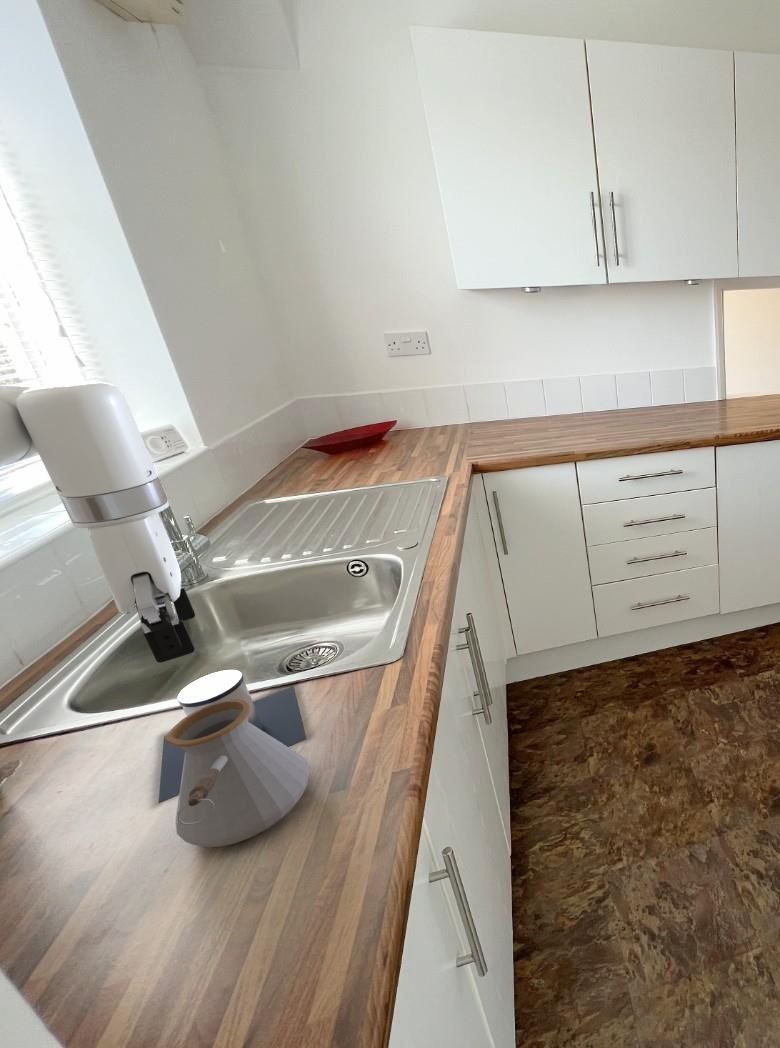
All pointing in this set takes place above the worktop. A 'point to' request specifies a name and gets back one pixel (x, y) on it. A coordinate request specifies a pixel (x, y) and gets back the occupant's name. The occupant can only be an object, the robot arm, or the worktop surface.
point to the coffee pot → (232, 776)
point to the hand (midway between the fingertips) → (178, 638)
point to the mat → (277, 722)
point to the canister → (218, 693)
